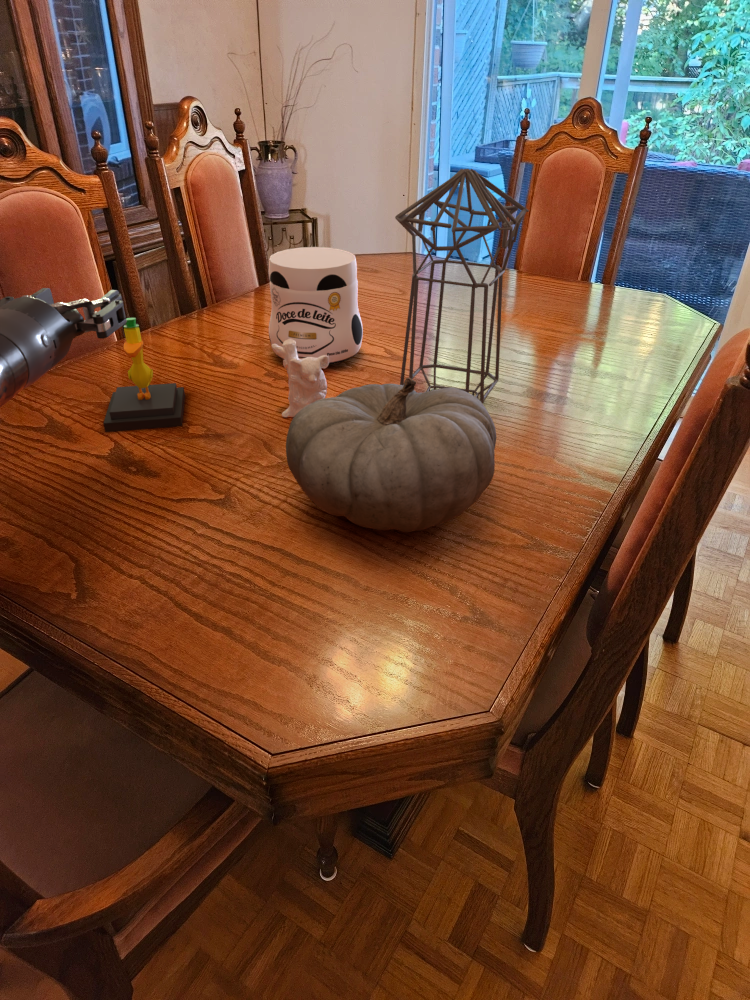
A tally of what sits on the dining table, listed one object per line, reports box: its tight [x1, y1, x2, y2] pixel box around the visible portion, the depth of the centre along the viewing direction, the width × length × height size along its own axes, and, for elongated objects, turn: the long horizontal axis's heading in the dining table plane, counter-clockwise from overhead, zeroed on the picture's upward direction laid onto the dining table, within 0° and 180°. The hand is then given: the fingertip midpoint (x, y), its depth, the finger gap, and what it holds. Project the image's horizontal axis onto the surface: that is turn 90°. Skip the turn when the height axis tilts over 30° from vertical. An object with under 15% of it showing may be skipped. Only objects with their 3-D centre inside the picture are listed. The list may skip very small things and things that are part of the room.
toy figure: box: [123, 317, 154, 400], centre depth 98 cm, size 7×4×12 cm, turn 9°
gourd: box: [285, 377, 497, 533], centre depth 80 cm, size 25×25×17 cm
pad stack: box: [102, 382, 186, 433], centre depth 103 cm, size 11×11×4 cm
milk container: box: [268, 246, 364, 366], centre depth 120 cm, size 17×17×18 cm
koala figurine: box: [271, 339, 330, 418], centre depth 102 cm, size 8×7×12 cm
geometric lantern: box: [394, 168, 530, 404], centre depth 97 cm, size 16×16×35 cm
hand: (83, 296), depth 82 cm, fingers open, 8 cm apart
